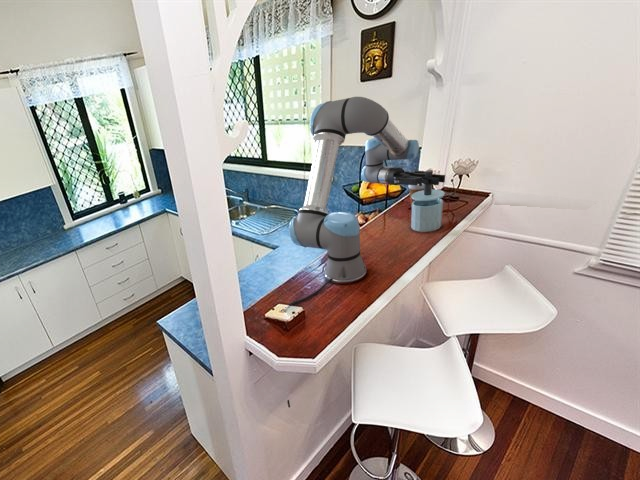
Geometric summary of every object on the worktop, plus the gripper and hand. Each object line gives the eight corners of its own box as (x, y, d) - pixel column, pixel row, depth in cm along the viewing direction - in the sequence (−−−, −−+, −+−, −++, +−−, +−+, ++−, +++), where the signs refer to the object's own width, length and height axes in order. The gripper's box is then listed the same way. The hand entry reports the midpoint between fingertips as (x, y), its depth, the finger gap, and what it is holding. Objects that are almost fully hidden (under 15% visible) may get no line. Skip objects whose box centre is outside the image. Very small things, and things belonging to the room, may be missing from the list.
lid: (431, 203, 138) (432, 176, 133) (404, 200, 148) (405, 174, 142) (451, 194, 142) (453, 167, 137) (424, 190, 152) (425, 165, 146)
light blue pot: (429, 234, 145) (430, 208, 139) (405, 229, 154) (406, 204, 149) (446, 225, 149) (449, 199, 143) (422, 220, 158) (424, 196, 152)
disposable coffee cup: (424, 201, 176) (426, 178, 170) (431, 207, 168) (433, 182, 162) (405, 205, 178) (405, 181, 172) (411, 211, 170) (411, 186, 164)
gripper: (403, 178, 160) (453, 183, 141) (379, 189, 155) (427, 196, 136) (404, 162, 156) (455, 164, 137) (379, 172, 151) (428, 176, 132)
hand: (441, 180), depth 137 cm, fingers closed on lid, 3 cm apart
